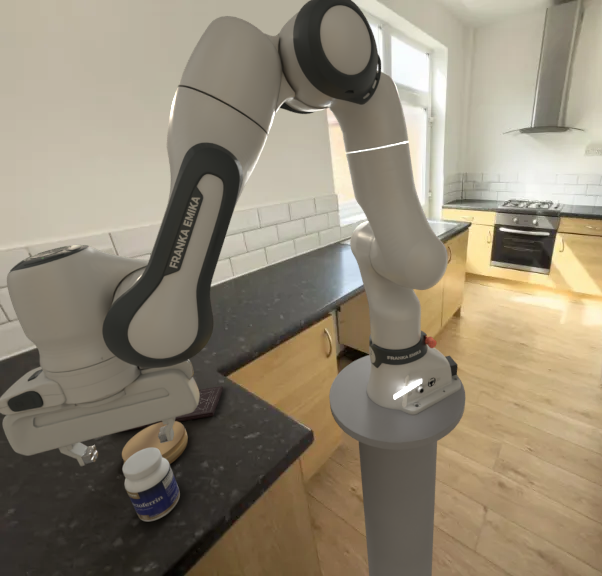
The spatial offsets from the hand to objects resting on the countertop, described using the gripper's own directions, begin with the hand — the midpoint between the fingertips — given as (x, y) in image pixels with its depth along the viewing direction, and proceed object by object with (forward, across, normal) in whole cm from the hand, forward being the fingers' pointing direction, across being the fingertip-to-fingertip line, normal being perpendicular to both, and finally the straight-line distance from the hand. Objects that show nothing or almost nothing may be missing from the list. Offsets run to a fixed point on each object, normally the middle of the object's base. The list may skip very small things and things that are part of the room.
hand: (130, 449), depth 47 cm
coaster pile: (+12, +2, -12) cm, 17 cm away
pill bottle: (+12, -1, 0) cm, 12 cm away
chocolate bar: (+12, +1, -24) cm, 27 cm away
